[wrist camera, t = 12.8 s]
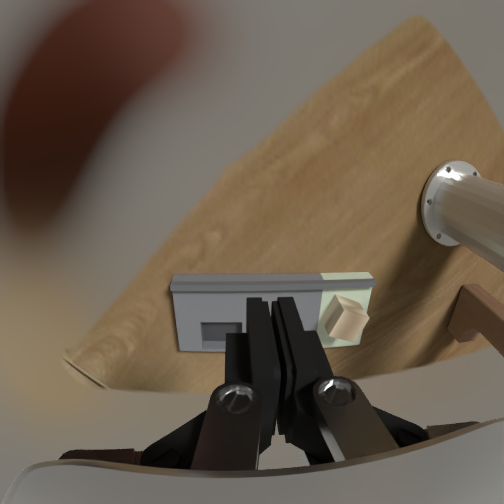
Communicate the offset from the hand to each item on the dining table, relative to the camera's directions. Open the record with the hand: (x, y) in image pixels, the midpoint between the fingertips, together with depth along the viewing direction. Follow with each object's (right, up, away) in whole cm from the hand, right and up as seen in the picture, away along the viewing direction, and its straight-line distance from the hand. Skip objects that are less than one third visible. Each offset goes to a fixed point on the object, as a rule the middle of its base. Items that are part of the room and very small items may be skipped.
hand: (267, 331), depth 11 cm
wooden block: (+36, -7, +34) cm, 50 cm away
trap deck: (+2, -5, +31) cm, 32 cm away
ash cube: (+11, -5, +30) cm, 32 cm away
